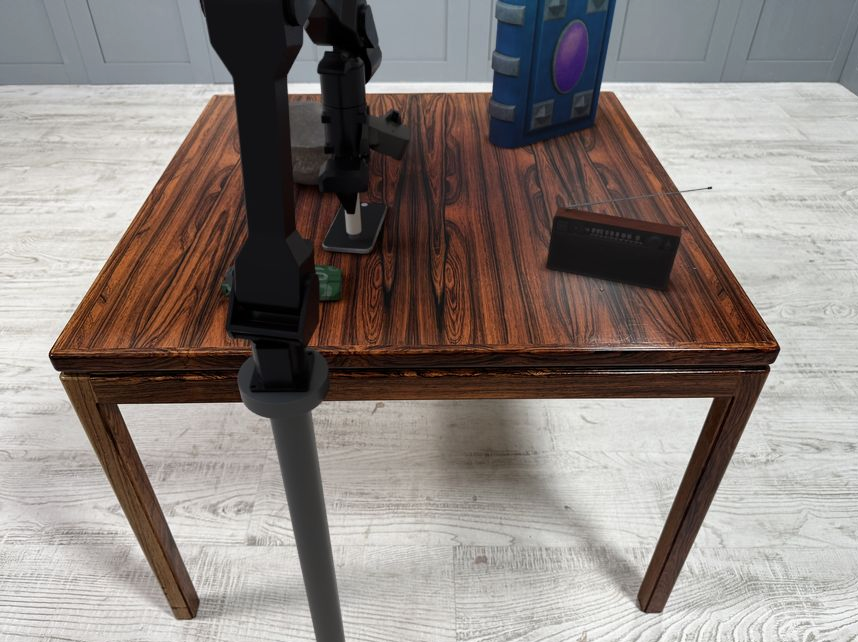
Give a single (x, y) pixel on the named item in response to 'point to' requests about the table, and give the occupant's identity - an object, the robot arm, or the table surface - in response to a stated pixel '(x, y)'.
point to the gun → (327, 278)
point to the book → (547, 68)
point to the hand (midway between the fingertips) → (351, 209)
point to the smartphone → (370, 229)
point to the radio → (613, 246)
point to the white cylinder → (354, 222)
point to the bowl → (307, 141)
